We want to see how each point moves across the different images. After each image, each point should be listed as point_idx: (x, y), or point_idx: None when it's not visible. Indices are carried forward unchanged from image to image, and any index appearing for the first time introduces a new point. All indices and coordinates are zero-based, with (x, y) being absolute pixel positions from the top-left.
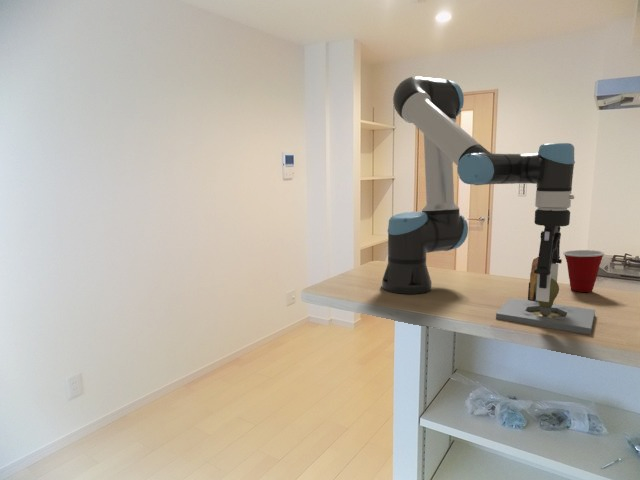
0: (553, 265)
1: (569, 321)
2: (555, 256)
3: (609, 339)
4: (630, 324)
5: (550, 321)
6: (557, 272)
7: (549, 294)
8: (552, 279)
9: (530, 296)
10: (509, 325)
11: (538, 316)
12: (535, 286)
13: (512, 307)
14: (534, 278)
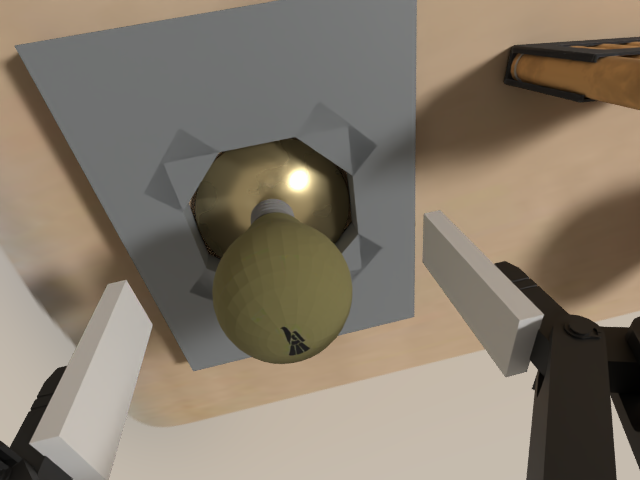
0: (503, 348)
1: (212, 317)
2: (533, 437)
3: (201, 385)
4: (372, 371)
5: (152, 281)
6: (474, 328)
7: (142, 355)
8: (287, 362)
9: (524, 62)
10: (16, 144)
11: (176, 229)
12: (227, 265)
13: (220, 77)
14: (614, 97)
